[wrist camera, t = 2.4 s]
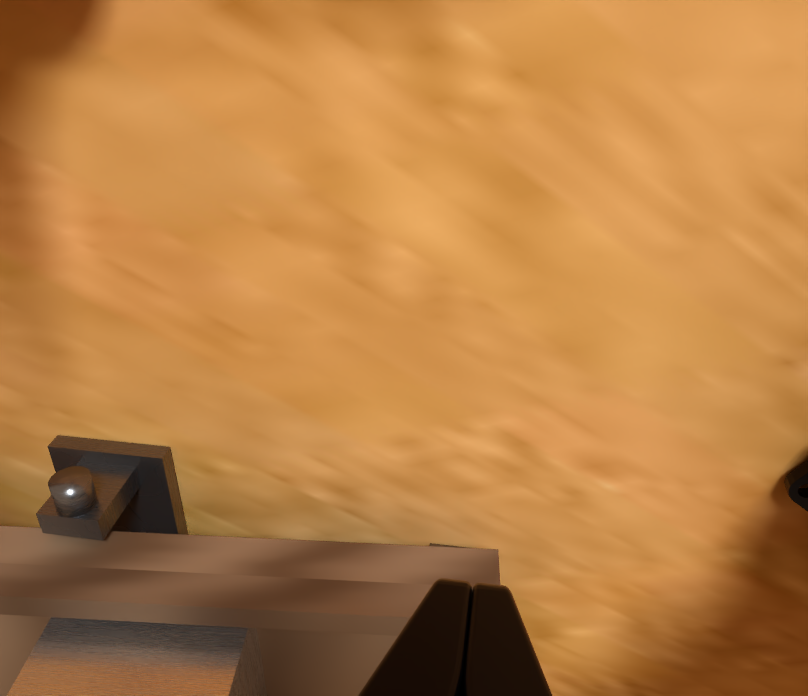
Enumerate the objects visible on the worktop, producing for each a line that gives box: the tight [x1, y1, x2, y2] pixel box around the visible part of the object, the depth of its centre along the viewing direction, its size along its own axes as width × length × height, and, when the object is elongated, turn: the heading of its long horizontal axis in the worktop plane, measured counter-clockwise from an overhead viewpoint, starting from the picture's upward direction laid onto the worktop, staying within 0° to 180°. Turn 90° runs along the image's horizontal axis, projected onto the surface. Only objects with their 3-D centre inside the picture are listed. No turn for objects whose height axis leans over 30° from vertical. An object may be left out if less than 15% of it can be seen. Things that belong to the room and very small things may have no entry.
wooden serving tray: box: [0, 526, 500, 696], centre depth 25 cm, size 26×9×3 cm, turn 90°
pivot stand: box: [36, 435, 466, 548], centre depth 27 cm, size 25×13×3 cm, turn 90°
